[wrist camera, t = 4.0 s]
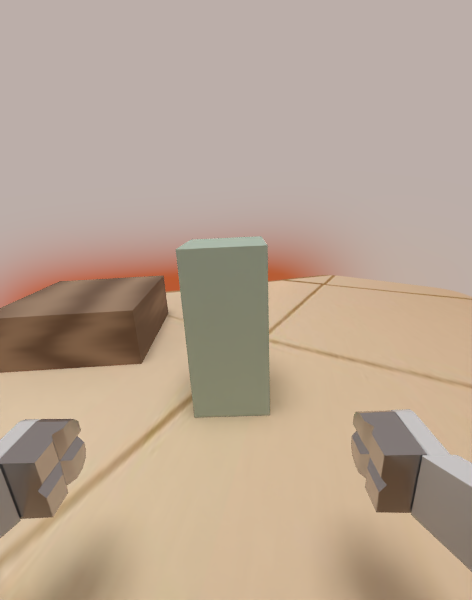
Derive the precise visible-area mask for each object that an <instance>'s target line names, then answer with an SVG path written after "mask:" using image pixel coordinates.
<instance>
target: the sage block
mask: <svg viewBox="0 0 472 600" xmlns="http://www.w3.org/2000/svg"><path fill="white" fill-rule="evenodd" d="M176 255H177V264H178V272H179V273H178V274H179V283H180V292H181V300H182V309H183V318H184V327H185V336H186V345H187V354H188V363H189V372H190V381H191V390H192V399H193V408H194V417H226V416H261V415H270V387H269V319H268V253H267V244H266V243H265V241H264V240H263V238H262V237H239V238H218V239H197V240H190V241H189V242H187V243H185V244H184V245H182V246H181V247H179V248H177V249H176Z"/></svg>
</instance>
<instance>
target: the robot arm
mask: <svg viewBox="0 0 472 600" xmlns="http://www.w3.org/2000/svg"><path fill="white" fill-rule="evenodd" d="M353 424H354V426H355V428H356V430H357V431H356V432H355V433H354V434H353V435H352V440H351V448H352V456H353V459H354V463H355V465H356V468H357V470H358V472H359V473H360V474H361V475H362V476H364V477H365V478H366V484H365V488H366V491H367V493H368V495H369V497H370V499H371V502H372V504H373V506H374V508H375V510H376V512H389V513H411V515H412V516H413V517H414V518H415V519H416V520H417V521H418V522H419V523H420V524H421V525H423V526H424V527H425V528H426V529H427V530H428V531H429V532H430V533H431V534H432V535H433V536H434V537H435V538H436V539H437V540H439V541H440V542H441V543H442V544H443V545H444V546H445V547H446V548H447V549H448V550H449V551H450V552H451V553H452V554H453V555H454V556H456V557H457V558H458V559H459V560H460V561H461V562H462V563H463V564H464V565H465V566H466V567H467V568H468V569H469V570H470V571H472V463H471V462H469V461H467V460H465V459H463V458H462V457H460V456H458V455H450V453H449V452H448V451H447V450H446V449H445V448H444V446H443V445H442V444H441V443H440V442H439V441H438V439H437V438H436V437H435V436H434V435H433V434H432V432H431V431H430V430H429V429H428V428H427V427H426V425H425V424H424V423H423V422H422V421H421V420H420V418H419V417H418V416H417V415H416V414H415V413H414V412H413V411H412V410H410V409H405V410H391V411H366V412H355V414H354V418H353ZM80 431H81V429H80V426H79V422H78V421H77V420H74V419H41V420H39V419H28V420H23V421H20V422H18V423H17V424H16V425H15V426H14V427H13V428H12V429H11V430H10V431H9V432H8V433H7V434H6V435H5V436H4V437H3V438H2V439H1V440H0V538H1V537H2V536H4V535H5V534H6V533H7V532H8V531H9V530H10V529H12V528H13V527H14V526H15V525H16V524H17V523H19V522H20V519H27V518H48V517H54V515H55V513H56V512H57V510H58V508H59V507H60V505H61V503H62V502H63V500H64V499H65V497H66V495H67V494H68V489H67V485H68V484H70V483H71V482H72V481H74V480H75V479H76V478H77V477H78V475H79V474H80V472H81V470H82V469H83V465H84V462H85V458H86V448H85V444H84V442H83V441H82V440H81V439H80V438H79V437H78V434H79V433H80Z"/></svg>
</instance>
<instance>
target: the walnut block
mask: <svg viewBox="0 0 472 600" xmlns="http://www.w3.org/2000/svg"><path fill="white" fill-rule="evenodd" d="M167 315H168V307H167V300H166V292H165V284H164V276H149V277H133V278H113V279H96V280H78V281H60V282H58V283H55V284H53V285H51V286H49V287H46V288H44V289H42V290H40V291H37V292H35V293H33V294H31V295H28V296H26V297H24V298H22V299H20V300H17V301H15V302H13V303H11V304H8V305H6V306H4V307H2V308H0V373H1V372H17V371H33V370H48V369H64V368H80V367H96V366H111V365H127V364H142V362H143V360H144V358H145V356H146V354H147V352H148V351H149V349H150V347H151V345H152V343H153V341H154V339H155V337H156V335H157V333H158V332H159V330H160V328H161V326H162V324H163V322H164V320H165V318H166V316H167Z"/></svg>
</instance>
